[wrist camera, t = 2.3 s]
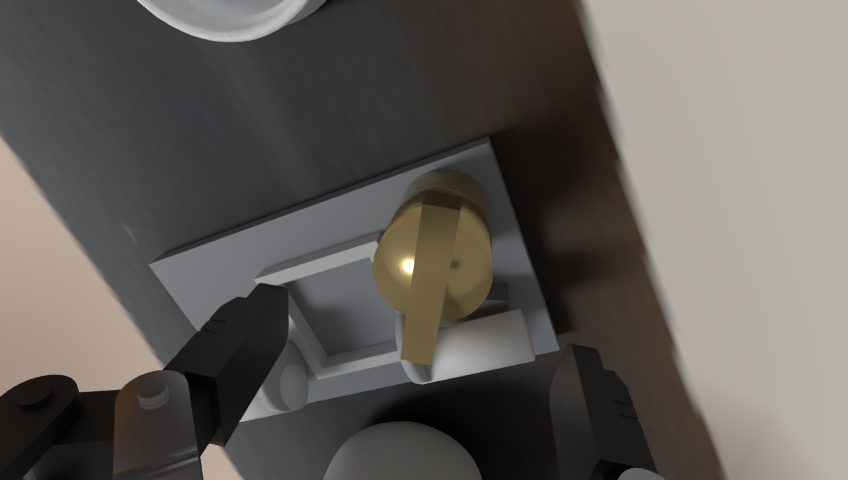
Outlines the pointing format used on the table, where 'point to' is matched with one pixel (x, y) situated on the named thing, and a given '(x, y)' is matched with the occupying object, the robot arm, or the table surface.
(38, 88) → the table surface
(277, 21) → the ramekin
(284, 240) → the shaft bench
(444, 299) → the gold knob
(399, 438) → the teacup
